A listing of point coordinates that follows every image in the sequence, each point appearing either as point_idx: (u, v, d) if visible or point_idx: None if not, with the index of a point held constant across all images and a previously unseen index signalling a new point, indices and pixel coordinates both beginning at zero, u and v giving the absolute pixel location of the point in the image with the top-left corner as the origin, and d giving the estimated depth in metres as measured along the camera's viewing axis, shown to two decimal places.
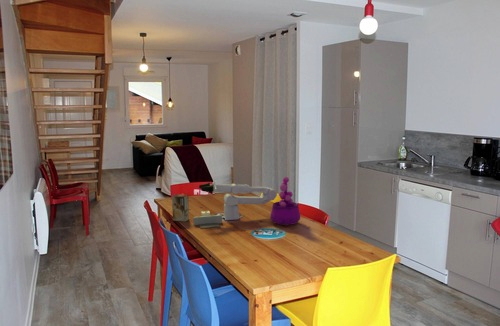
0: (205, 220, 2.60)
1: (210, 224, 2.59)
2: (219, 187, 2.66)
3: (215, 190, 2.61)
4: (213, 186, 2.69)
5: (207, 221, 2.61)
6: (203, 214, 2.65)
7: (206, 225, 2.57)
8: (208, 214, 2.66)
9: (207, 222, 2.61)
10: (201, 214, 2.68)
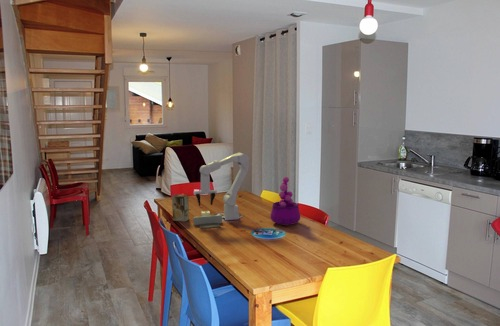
0: (205, 220, 2.60)
1: (210, 224, 2.59)
2: (209, 187, 2.65)
3: None
4: None
5: (207, 221, 2.61)
6: (203, 214, 2.65)
7: (206, 225, 2.57)
8: (208, 214, 2.66)
9: (207, 222, 2.61)
10: (201, 214, 2.68)
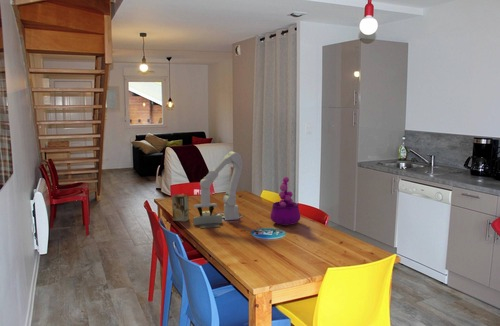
0: (205, 220, 2.60)
1: (210, 224, 2.59)
2: (209, 200, 2.66)
3: None
4: None
5: (207, 221, 2.61)
6: (203, 214, 2.65)
7: (206, 225, 2.57)
8: (208, 214, 2.66)
9: (207, 222, 2.61)
10: None
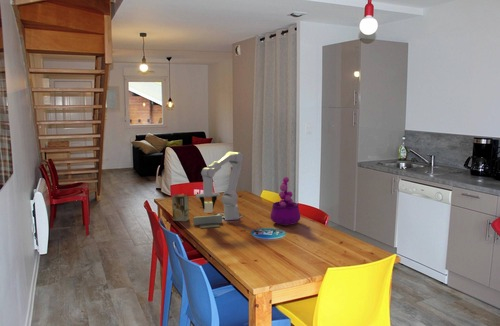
0: (205, 220, 2.60)
1: (210, 224, 2.59)
2: (212, 189, 2.56)
3: None
4: None
5: (207, 221, 2.61)
6: (205, 204, 2.55)
7: (206, 225, 2.57)
8: (211, 204, 2.56)
9: (207, 222, 2.61)
10: None
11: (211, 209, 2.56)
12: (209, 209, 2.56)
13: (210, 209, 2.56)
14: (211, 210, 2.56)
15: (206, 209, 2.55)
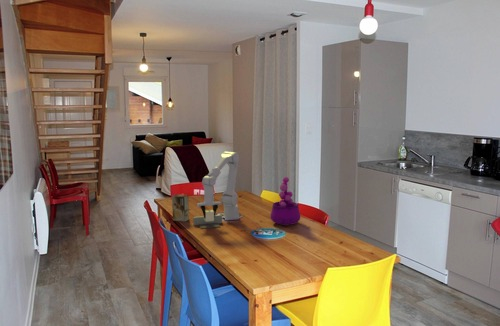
0: None
1: (210, 224, 2.59)
2: (213, 198, 2.54)
3: None
4: None
5: None
6: (206, 213, 2.53)
7: (206, 225, 2.57)
8: (212, 213, 2.54)
9: (207, 222, 2.61)
10: None
11: (212, 218, 2.55)
12: (210, 218, 2.54)
13: (211, 218, 2.54)
14: (212, 219, 2.55)
15: (207, 218, 2.54)
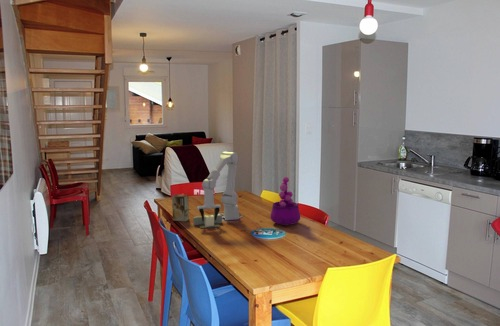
0: None
1: None
2: (213, 201, 2.55)
3: None
4: None
5: None
6: (206, 218, 2.54)
7: None
8: (212, 218, 2.55)
9: None
10: (204, 218, 2.57)
11: (212, 223, 2.55)
12: (210, 223, 2.55)
13: (211, 223, 2.55)
14: (212, 224, 2.55)
15: (207, 223, 2.54)
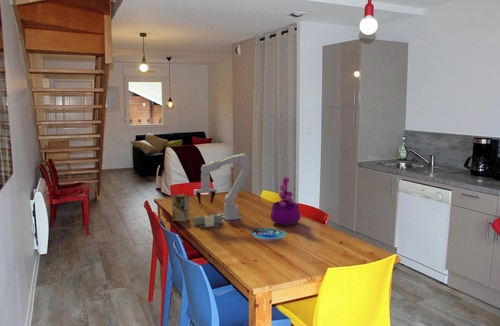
0: None
1: None
2: (209, 185, 2.69)
3: None
4: None
5: None
6: (206, 218, 2.54)
7: None
8: (212, 218, 2.55)
9: None
10: (204, 218, 2.57)
11: (212, 223, 2.55)
12: (210, 223, 2.55)
13: (211, 223, 2.55)
14: (212, 224, 2.55)
15: (207, 223, 2.54)
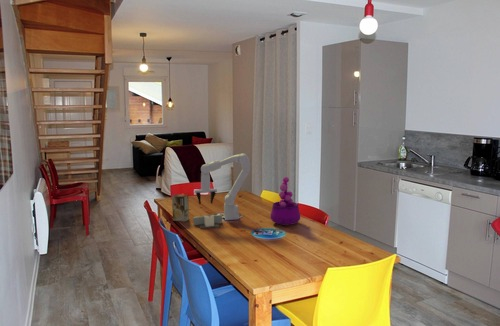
0: None
1: None
2: (209, 185, 2.69)
3: None
4: None
5: None
6: (206, 218, 2.54)
7: None
8: (212, 218, 2.55)
9: None
10: (204, 218, 2.57)
11: (212, 223, 2.55)
12: (210, 223, 2.55)
13: (211, 223, 2.55)
14: (212, 224, 2.55)
15: (207, 223, 2.54)
